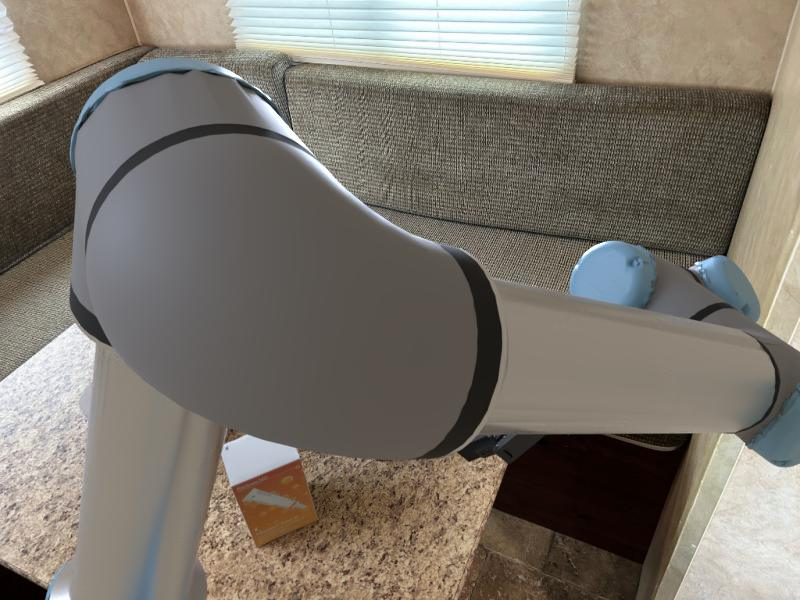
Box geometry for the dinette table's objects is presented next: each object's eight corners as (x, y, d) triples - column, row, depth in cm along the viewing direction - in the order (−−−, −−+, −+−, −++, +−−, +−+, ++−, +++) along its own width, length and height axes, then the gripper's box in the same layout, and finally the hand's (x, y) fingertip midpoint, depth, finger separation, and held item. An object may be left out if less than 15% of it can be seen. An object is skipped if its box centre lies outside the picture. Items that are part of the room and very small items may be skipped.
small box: (256, 549, 73) (228, 488, 65) (244, 507, 78) (216, 444, 69) (320, 521, 75) (300, 457, 67) (304, 481, 80) (284, 418, 72)
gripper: (624, 461, 59) (473, 509, 73) (631, 301, 77) (509, 364, 91) (574, 415, 57) (428, 474, 71) (593, 262, 75) (474, 333, 89)
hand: (473, 412), depth 81 cm, fingers open, 13 cm apart
